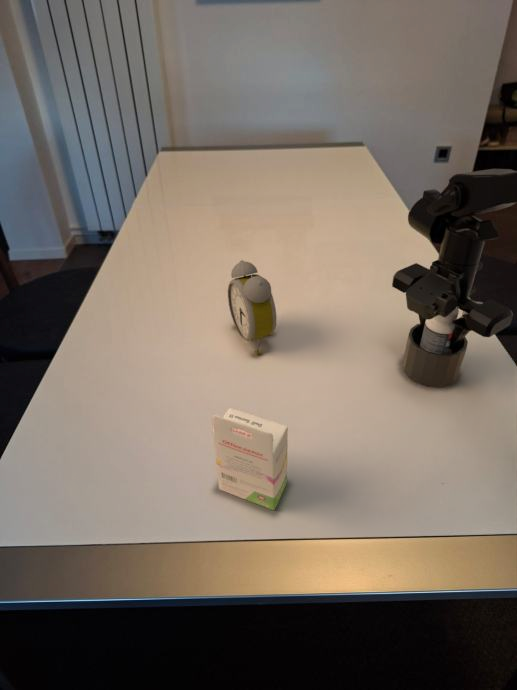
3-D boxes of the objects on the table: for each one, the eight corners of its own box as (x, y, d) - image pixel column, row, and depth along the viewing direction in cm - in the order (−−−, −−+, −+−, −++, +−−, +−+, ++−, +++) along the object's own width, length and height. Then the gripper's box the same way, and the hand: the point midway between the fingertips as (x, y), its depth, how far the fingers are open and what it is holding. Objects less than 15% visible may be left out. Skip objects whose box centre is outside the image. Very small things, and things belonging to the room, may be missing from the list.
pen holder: (460, 360, 89) (470, 329, 85) (453, 393, 82) (463, 361, 78) (408, 347, 92) (415, 317, 88) (397, 378, 86) (403, 346, 81)
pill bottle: (445, 365, 82) (458, 321, 76) (414, 355, 84) (424, 312, 79) (454, 348, 85) (466, 305, 80) (424, 339, 87) (434, 296, 82)
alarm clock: (228, 326, 99) (224, 258, 89) (260, 318, 101) (259, 251, 91) (251, 360, 90) (249, 289, 81) (285, 350, 92) (286, 280, 83)
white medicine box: (288, 483, 69) (291, 408, 60) (274, 512, 65) (275, 437, 56) (233, 463, 72) (227, 388, 63) (216, 489, 68) (208, 414, 59)
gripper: (374, 248, 76) (363, 330, 86) (480, 301, 64) (453, 390, 73) (423, 230, 81) (407, 309, 91) (529, 275, 69) (498, 361, 78)
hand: (437, 340), depth 83 cm, fingers closed on pill bottle, 5 cm apart
